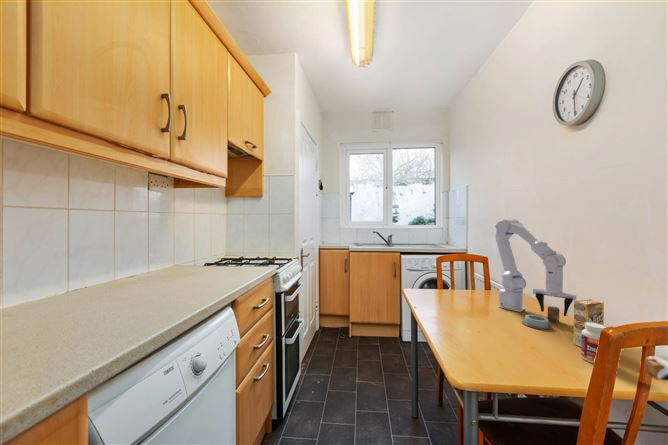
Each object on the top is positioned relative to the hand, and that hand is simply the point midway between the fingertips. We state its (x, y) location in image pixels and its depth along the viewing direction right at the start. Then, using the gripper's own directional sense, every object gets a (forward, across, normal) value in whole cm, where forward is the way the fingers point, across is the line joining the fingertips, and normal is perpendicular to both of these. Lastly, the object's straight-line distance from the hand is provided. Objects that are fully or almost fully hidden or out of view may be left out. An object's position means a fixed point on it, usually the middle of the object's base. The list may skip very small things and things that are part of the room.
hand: (553, 313), depth 117 cm
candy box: (+4, +12, -21) cm, 24 cm away
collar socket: (+3, -4, -12) cm, 13 cm away
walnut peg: (+3, 0, 0) cm, 3 cm away
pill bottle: (+4, +14, -34) cm, 37 cm away
